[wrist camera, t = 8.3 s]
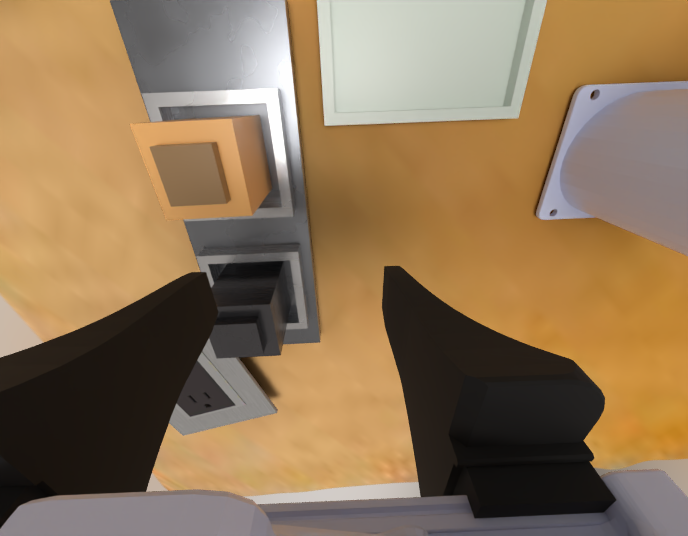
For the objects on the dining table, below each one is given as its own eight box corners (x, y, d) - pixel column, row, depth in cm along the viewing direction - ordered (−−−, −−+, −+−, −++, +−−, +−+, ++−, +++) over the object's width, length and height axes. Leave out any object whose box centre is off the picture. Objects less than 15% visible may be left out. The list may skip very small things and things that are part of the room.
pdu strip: (126, 8, 14) (-24, -63, 8) (287, 2, 14) (255, -72, 8) (230, 337, 25) (199, 408, 19) (320, 332, 25) (317, 402, 19)
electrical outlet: (280, 394, 29) (276, 415, 27) (191, 416, 31) (181, 438, 29) (212, 297, 23) (200, 316, 21) (104, 331, 24) (83, 351, 22)
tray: (558, -113, 13) (579, -132, 11) (506, 117, 17) (518, 118, 16) (311, -105, 12) (309, -125, 11) (325, 124, 17) (324, 126, 16)
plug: (259, 115, 15) (226, 119, 11) (272, 188, 17) (248, 220, 13) (186, 118, 15) (119, 124, 11) (207, 191, 17) (159, 225, 13)
